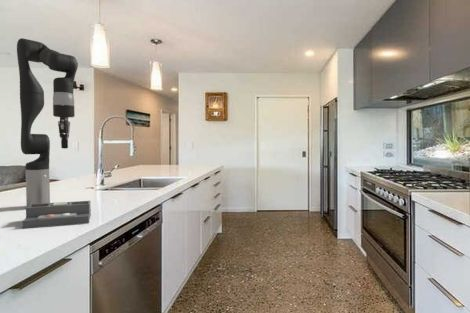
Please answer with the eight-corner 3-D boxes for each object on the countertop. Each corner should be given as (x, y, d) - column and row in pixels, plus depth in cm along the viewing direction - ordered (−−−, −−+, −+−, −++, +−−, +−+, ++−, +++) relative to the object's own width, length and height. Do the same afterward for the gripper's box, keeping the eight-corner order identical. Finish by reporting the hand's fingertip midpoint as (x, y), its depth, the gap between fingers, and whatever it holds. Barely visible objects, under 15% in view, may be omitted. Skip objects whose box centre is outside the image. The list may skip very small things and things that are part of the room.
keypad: (31, 219, 123) (31, 203, 123) (90, 214, 130) (90, 200, 130) (22, 228, 110) (22, 210, 110) (88, 223, 117) (88, 206, 117)
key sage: (54, 208, 123) (54, 202, 123) (67, 207, 125) (67, 202, 125) (52, 210, 119) (52, 205, 119) (66, 209, 120) (66, 204, 120)
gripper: (55, 106, 133) (56, 148, 133) (50, 102, 120) (51, 148, 121) (75, 106, 135) (76, 148, 136) (72, 103, 123) (73, 148, 124)
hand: (64, 148), depth 129 cm, fingers closed
